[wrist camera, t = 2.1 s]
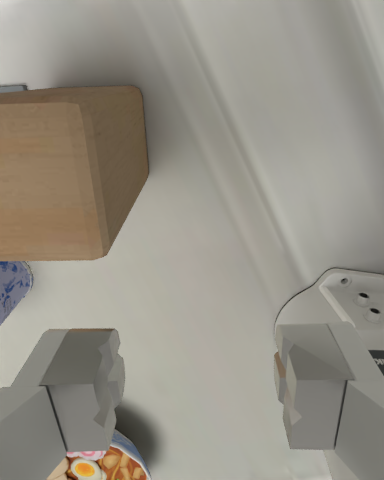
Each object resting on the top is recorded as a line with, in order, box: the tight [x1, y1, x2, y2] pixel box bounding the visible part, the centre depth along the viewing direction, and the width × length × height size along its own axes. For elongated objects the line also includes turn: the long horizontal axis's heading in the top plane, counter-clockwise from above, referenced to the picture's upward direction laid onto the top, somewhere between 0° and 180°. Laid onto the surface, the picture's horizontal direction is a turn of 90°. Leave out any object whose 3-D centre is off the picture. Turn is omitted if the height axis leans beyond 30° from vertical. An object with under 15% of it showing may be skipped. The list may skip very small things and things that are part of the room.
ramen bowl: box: [46, 429, 152, 480], centre depth 56 cm, size 25×23×8 cm
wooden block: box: [0, 86, 149, 261], centre depth 29 cm, size 10×10×20 cm
